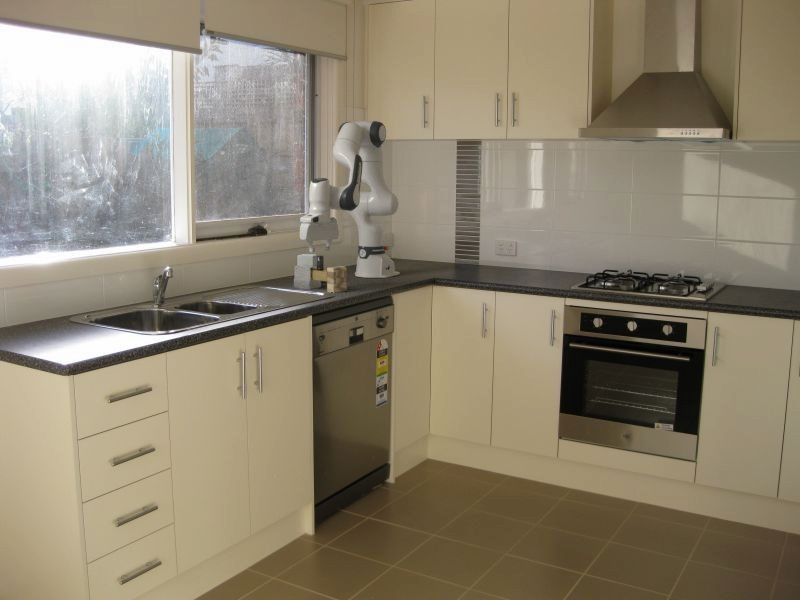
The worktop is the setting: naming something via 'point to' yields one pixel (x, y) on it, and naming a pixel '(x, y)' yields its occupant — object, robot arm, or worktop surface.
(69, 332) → the worktop surface
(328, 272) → the beech socket block
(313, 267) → the aluminium sleeve
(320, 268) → the brass slip tube
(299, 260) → the supplement box
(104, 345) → the worktop surface
